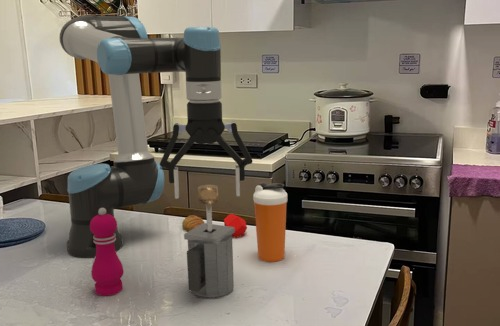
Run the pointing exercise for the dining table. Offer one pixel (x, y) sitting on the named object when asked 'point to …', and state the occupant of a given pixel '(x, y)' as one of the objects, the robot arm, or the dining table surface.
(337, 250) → the dining table surface
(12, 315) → the dining table surface
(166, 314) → the dining table surface
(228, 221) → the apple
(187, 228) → the pastry
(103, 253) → the pepper mill
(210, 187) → the plunger
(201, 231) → the faceted grey canister
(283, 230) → the shaker bottle
